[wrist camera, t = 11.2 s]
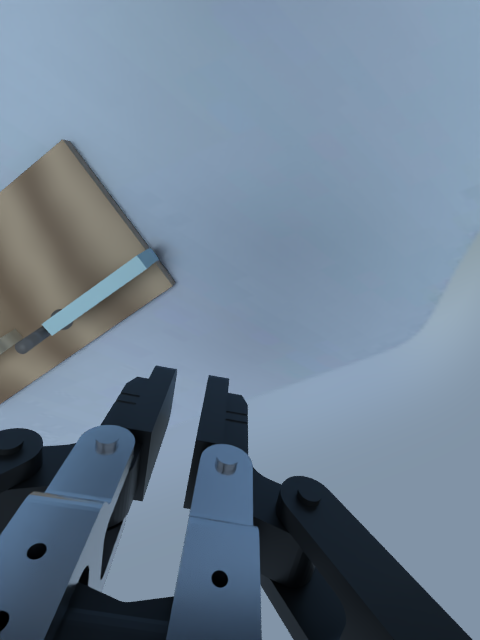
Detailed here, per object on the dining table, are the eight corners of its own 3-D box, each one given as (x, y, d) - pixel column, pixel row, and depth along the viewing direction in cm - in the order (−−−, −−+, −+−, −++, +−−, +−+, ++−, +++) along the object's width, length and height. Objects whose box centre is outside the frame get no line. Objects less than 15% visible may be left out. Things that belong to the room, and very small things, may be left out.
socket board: (70, 141, 27) (12, 125, 21) (175, 282, 31) (155, 308, 24) (-117, 298, 32) (-216, 328, 25) (-7, 406, 35) (-66, 458, 28)
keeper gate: (159, 259, 29) (146, 268, 25) (74, 318, 31) (51, 335, 27) (150, 247, 29) (136, 255, 25) (65, 308, 30) (41, 324, 27)
